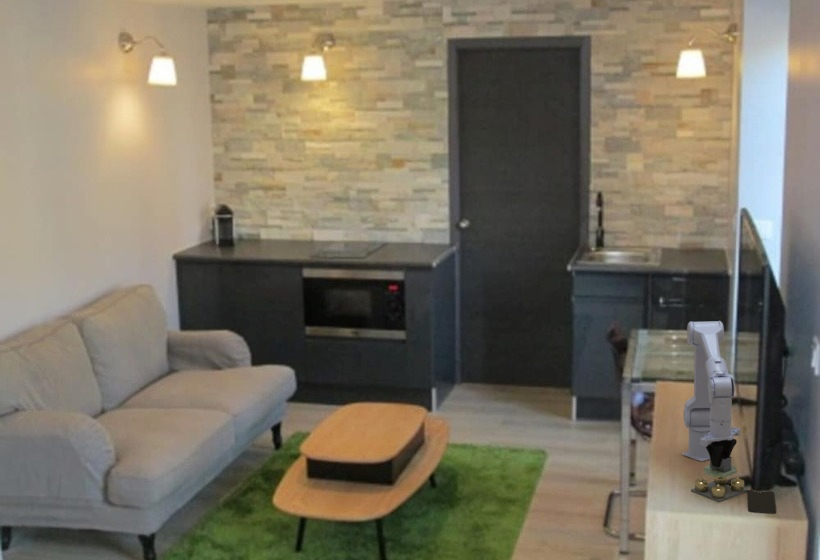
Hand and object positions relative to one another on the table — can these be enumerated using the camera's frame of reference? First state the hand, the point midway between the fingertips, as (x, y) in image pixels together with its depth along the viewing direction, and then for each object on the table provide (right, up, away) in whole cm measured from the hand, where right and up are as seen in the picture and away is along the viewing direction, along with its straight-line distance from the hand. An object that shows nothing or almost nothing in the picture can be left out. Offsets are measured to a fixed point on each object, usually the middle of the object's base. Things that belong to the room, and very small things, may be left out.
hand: (719, 464), depth 308 cm
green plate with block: (0, -2, 0) cm, 2 cm away
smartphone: (+10, -10, -6) cm, 15 cm away
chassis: (0, -8, +2) cm, 8 cm away
